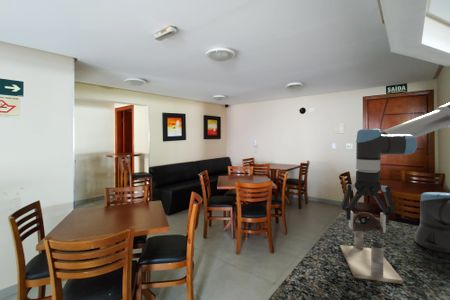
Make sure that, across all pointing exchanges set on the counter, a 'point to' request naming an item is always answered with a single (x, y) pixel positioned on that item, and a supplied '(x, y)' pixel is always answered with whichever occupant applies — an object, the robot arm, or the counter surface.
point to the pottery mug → (366, 222)
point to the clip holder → (369, 261)
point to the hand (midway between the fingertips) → (366, 229)
